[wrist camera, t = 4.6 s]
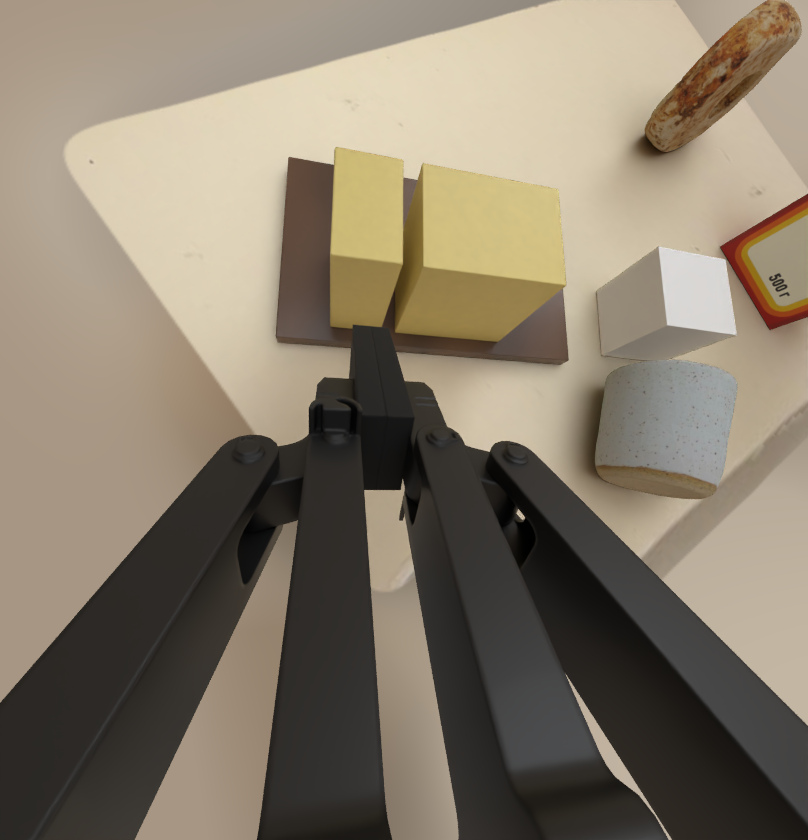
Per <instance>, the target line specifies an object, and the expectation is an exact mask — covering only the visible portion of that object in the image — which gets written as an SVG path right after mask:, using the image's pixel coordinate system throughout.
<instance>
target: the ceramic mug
mask: <svg viewBox="0 0 808 840" xmlns="http://www.w3.org/2000/svg"><path fill="white" fill-rule="evenodd" d="M736 393H737V382H736V379H735V378H734V377H733V376H732V375H731V374H730V373H728V372H726V371H724V370H722V369H719V368H717V367H713V366H710V365H706V364H702V363H696V362H690V361H682V360H655V361H646V362H640V363H635V364H631V365H627V366H623V367H620V368H618V369H616V370H614V371H613V372H611V373H610V374H609V376H608V377H607V379H606V382H605V391H604V398H603V403H602V410H601V417H600V425H599V433H598V438H597V443H596V451H595V466H596V471H597V473H598V474H599V476H600V477H601V478H602V479H603V480H605V481H607V482H610V483H612V484H615V485H618V486H621V487H625V488H628V489H632V490H636V491H641V492H645V493H650V494H655V495H661V496H667V497H674V498H682V499H703V498H706V497H708V496H711V495H713V494H714V492H715V491H716V489H717V487H718V485H719V482H720V480H721V477H722V474H723V470H724V466H725V460H726V452H727V444H728V437H729V432H730V427H731V421H732V416H733V411H734V405H735V399H736Z"/></svg>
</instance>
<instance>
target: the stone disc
mask: <svg viewBox="0 0 808 840" xmlns="http://www.w3.org/2000/svg"><path fill="white" fill-rule="evenodd" d="M801 31H802V29H801V22H800V19H799V16H798V14H797V12H796V11H795V9H794V8H793V7H792V6H791V5H790V4H789V3H788V2H787V1H785V0H767V1H766V2H764V3H762V4H761V5H759V6H758V7H757V8H755V9H754V10H752V11H751V12H750V13H749V14H748V15H747V16H745V17H744V18H742V19H741V20H740V21H738V23H736V24H735V25H734V26H733V27H732V28H731V29H730V30H729V31H728V32H727V33H725V35H724V36H722V37H721V38H720V39H719V40H718V41H717V42H716V43H715V44H714V45H713V46H712V47H711V48H710V49H709V50H708V51H707V52H706V53H705V54H704V55H703V56H702V57H701V58H700V59H699V60H698V61H697V62H696V64H695V65H694V66H693V67H692V68H691V69H690V70H689V71H688V72H687V73H686V75H685V76H684V77H683V79H682V80H681V81H680V82H679V83H678V84H677V85H676V86H675V87H674V88H673V89H672V90H671V91H670V92H669V93H668V94H667V95H666V96H665V97H664V99H663V100H662V101H661V102H660V103H659V105H658V106H657V108H656V109H655V110H654V111H653V113H652V116H651V118H650V119H649V121H648V123H647V124H646V127H645V133H646V136H647V138H648V139H649V140H650V141H651V143H652V144H653V145H654V146H655V147H656V148H657V149H659V150H660V151H662V152H669V151H672V150H674V149H677V148H679V147H681V146H683V145H685V144H686V143H688V142H690V141H691V140H693V139H694V138H696V137H697V136H699V135H700V134H702V133H703V132H705V131H706V130H707V129H708V128H709V127H711V126H712V125H713V124H714V123H715V122H716V121H718V120H719V119H720V118H722V117H723V116H724V115H725V114H726V113H728V112H729V111H730V110H731V109H732V108H733V107H734V106H735V105H736V104H737V103H738V102H739V101H740V100H741V99H742V98H743V97H745V96H746V95H747V94H748V93H749V92H750V91H751V90H752V89H753V88H754V87H755V86H756V85H757V84H758V83H759V82H760V81H761V79H762V78H763V77H764V76H765V75H766V74H767V73H768V72H769V70H771V68H772V67H773V66H774V65H775V64H776V63H777V62H778V61H779V60H780V59H781V58H782V57H783V56H784V55H785V54H786V53H787V52H788V51H789V50H790V49H791V48H792V47H793V45H795V44H796V42H797V41H798V39H799V38H800V35H801Z"/></svg>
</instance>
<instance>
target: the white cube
mask: <svg viewBox="0 0 808 840" xmlns="http://www.w3.org/2000/svg"><path fill="white" fill-rule="evenodd" d="M597 302H598V316H599V329H600V343H601V356H610V357H618V358H627V359H635V360H644V361H655V360H669V359H672V358H674V357H677V356H680V355H683V354H685V353H688V352H691V351H694V350H697V349H699V348H702V347H705V346H708V345H711V344H713V343H716V342H719V341H722V340H724V339H727V338H730V337H733V336H736V335H737V333H736V326H735V320H734V313H733V306H732V300H731V293H730V286H729V279H728V273H727V266H726V260H725V259H720V258H715V257H710V256H704V255H699V254H694V253H689V252H684V251H679V250H674V249H669V248H663V247H657V248H656V249H654V250H653V251H652V252H650V253H649V254H647V255H646V256H645V257H643V258H642V259H640V260H639V261H638V262H636V263H635V264H633V265H632V266H631V267H629V268H628V269H626V270H625V271H624V272H622V273H621V274H619V275H618V276H617V277H615V278H614V279H612V280H611V281H610V282H608V283H607V284H605V285H604V286H603V287H601V288H600V289H598V290H597Z"/></svg>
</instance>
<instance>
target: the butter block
mask: <svg viewBox="0 0 808 840" xmlns="http://www.w3.org/2000/svg"><path fill="white" fill-rule="evenodd" d="M565 286H566V276H565V264H564V252H563V241H562V229H561V217H560V205H559V193H558V189H555V188H550V187H544V186H539V185H534V184H529V183H523V182H518V181H513V180H508V179H503V178H497V177H492V176H487V175H482V174H476V173H471V172H466V171H461V170H456V169H450V168H445V167H440V166H435V165H429V164H424V163H423V164H422V167H421V171H420V174H419V177H418V181H417V184H416V188H415V191H414V195H413V198H412V202H411V205H410V208H409V212H408V215H407V219H406V222H405V226H404V229H403V265H402V268H401V271H400V274H399V277H398V280H397V283H396V286H395V333H404V334H415V335H426V336H437V337H449V338H460V339H471V340H482V341H493V342H499V341H500V340H501V339H502V338H503V337H505V336H506V335H507V334H508V333H509V332H511V331H512V330H513V329H514V328H515V327H517V326H518V325H519V324H520V323H521V322H523V321H524V320H525V319H526V318H527V317H529V316H530V315H531V314H532V313H533V312H535V311H536V310H537V309H538V308H539V307H541V306H542V305H543V304H544V303H545V302H547V301H548V300H549V299H550V298H551V297H553V296H554V295H555V294H556V293H558V292H559V291H560V290H561V289H562V288H564V287H565Z"/></svg>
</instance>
